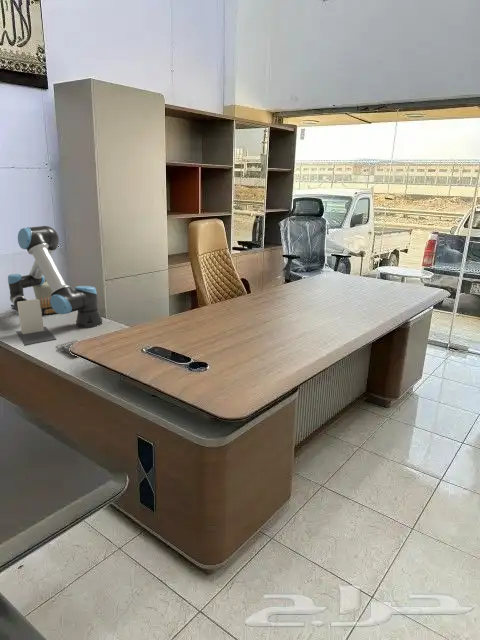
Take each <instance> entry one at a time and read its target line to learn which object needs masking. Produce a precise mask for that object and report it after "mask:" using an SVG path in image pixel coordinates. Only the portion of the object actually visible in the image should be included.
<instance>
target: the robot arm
mask: <svg viewBox="0 0 480 640" xmlns="http://www.w3.org/2000/svg"><path fill="white" fill-rule="evenodd" d="M17 233H18V234H17V243H18V245H19V247H20V249H22V250H26V251H27V253H28V254H29V255H31V256H33V258H34V262H33V265H32V267H31V270H30V272H29V274H27V275H21V274H20V273H11V274H9V275H8V276H7V283H8V288H9V300H10V302H11V303H12V304H10V309H11V310H15V311H17V312H18V306H17V302H19V301H27V300H28V299H26V298H25V293H24V289H26V288H31V287H32V286H38V285H41V284H43V283H44V281H45V280H44V279H46V281H47V283H48V285H49V287H50V289H51V290H52V293H51V298H50V302H51V303H50V304H51V306H52V308H53V310H54V311H55V312H57V313H59V314H58V315H66V314H70V313H74V312H77V315H76V320H75V323H76V324H75V325H76V327H78V328H86V329H87V328H94V326H95V327H98V326H97V325H99V326H100V324H101V325H103V323H102V322H103V318H102V316H101V313H100V311H99V304H98V303H99V302H98V293H97V289H96V287H95V286H92V285H79V286H78V285H77V286H75V288H74V290H73V288H72V287H71V286H70V285H68V284H66V281H65V279H64V278H63V276H62V274H61V271H60V270H59V268H58V267H57V264H56V262H55V261H54V259H53V257H52V255H53V253H54V251H56V250H57V249H58V246H59V243H60V238H59V234H58V232H57V231H56V230H55V229H54V227H53V228H52V227H51V226H48V225H43V226H31V227H30V226H27V227H22V228H20V230H19V231H18V232H17ZM44 277H45V278H44ZM32 288H33V287H32Z"/></svg>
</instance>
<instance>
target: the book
mask: <svg viewBox="0 0 480 640" xmlns="http://www.w3.org/2000/svg"><path fill="white" fill-rule="evenodd" d="M26 300H27V301H19V302H17V306H18V311H17V312H18V317H19V324H20V325H19V326H20V331H22V334H28V333H33V332H39V331H44V327H45V326H44V321H43V316H42V309H41V305H40V300H39V299H36V298H35V299H26Z"/></svg>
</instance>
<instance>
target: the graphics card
mask: <svg viewBox="0 0 480 640" xmlns="http://www.w3.org/2000/svg"><path fill="white" fill-rule="evenodd" d="M76 342H78V339H75V340H72V341H68V342H65V343H61V344H57V345H56V346H55V348H54V349H55V352H60V351H61V350H62V352H64V353H67V354H69V355H70V356H73V355H72V354H71V353H70V351H69V348H70V346H71V345H73V344H74V343H76Z"/></svg>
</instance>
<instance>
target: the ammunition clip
mask: <svg viewBox="0 0 480 640" xmlns="http://www.w3.org/2000/svg"><path fill="white" fill-rule="evenodd" d="M50 298H51V296H50ZM50 303H51V302H50ZM50 303H49V299H48V297H47V303H46V299H45V297H44V304H43V299H42V297H41V313H42V317H45V316H51V315H53V316H54V315H60V314H59V313H57V312H55V311H54V310H53V308H52V306H51V304H50Z"/></svg>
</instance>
